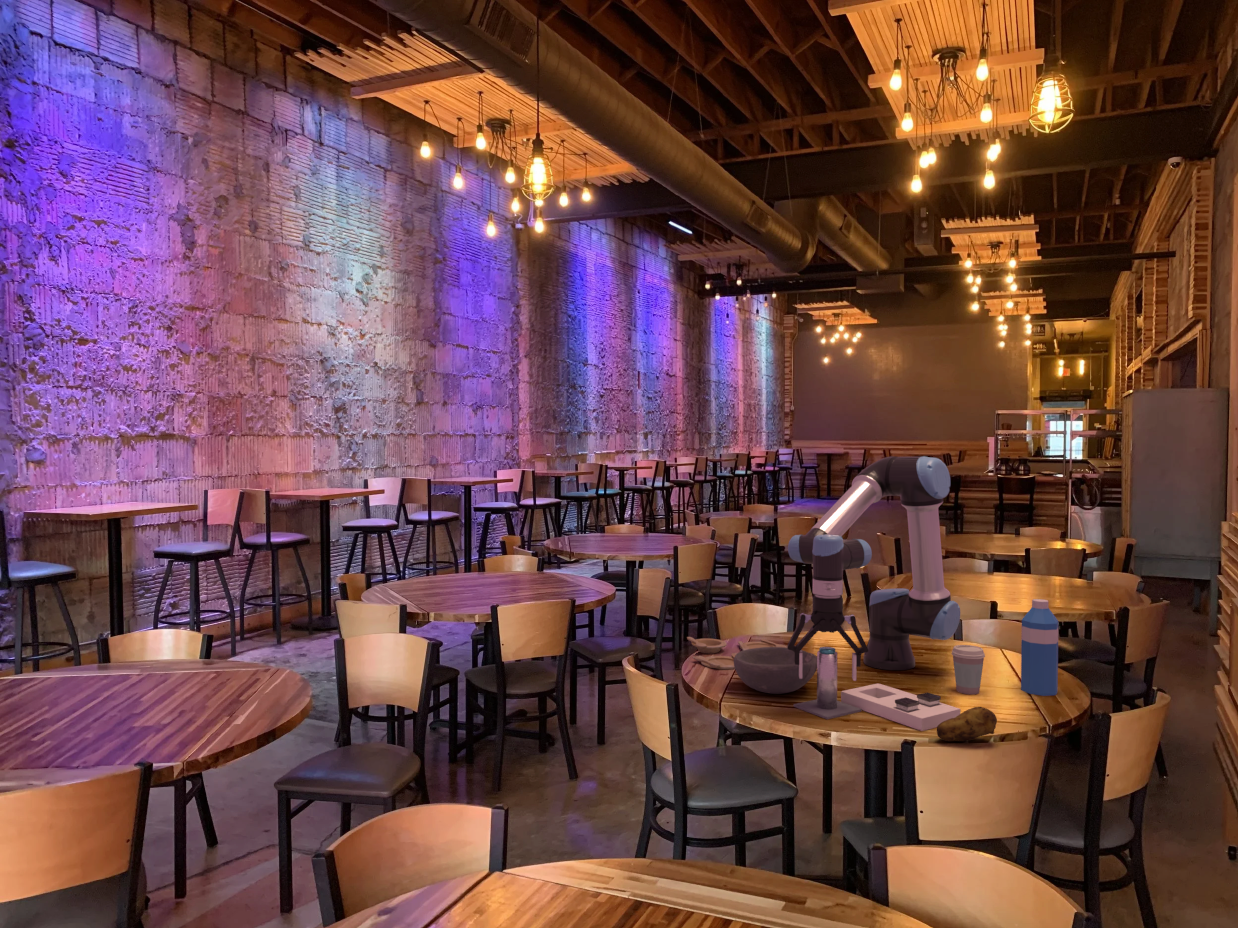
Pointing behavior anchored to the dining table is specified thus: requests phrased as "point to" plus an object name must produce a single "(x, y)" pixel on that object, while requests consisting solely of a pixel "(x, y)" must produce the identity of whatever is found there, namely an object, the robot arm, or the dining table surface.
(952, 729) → the potato
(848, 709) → the mat
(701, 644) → the tableware set
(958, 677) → the coffee cup
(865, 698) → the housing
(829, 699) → the cylinder
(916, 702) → the plunger near
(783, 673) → the bowl
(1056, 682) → the water bottle
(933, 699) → the dark topped block
